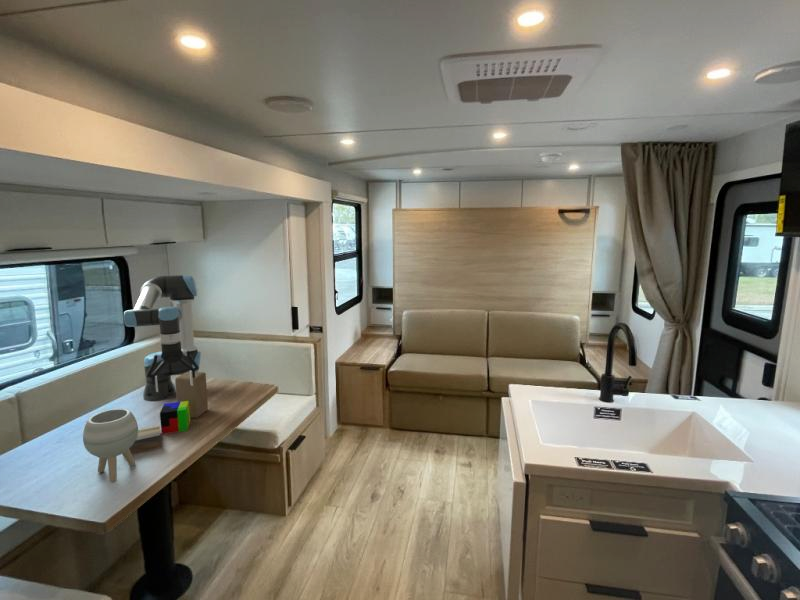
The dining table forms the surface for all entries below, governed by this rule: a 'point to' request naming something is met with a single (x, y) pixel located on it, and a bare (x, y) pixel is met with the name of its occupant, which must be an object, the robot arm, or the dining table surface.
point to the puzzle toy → (175, 417)
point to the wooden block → (193, 392)
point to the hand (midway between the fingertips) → (174, 387)
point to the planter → (111, 438)
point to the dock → (147, 440)
